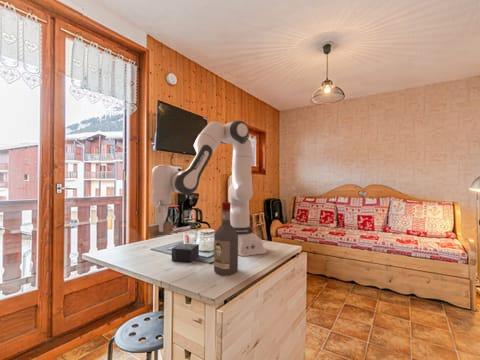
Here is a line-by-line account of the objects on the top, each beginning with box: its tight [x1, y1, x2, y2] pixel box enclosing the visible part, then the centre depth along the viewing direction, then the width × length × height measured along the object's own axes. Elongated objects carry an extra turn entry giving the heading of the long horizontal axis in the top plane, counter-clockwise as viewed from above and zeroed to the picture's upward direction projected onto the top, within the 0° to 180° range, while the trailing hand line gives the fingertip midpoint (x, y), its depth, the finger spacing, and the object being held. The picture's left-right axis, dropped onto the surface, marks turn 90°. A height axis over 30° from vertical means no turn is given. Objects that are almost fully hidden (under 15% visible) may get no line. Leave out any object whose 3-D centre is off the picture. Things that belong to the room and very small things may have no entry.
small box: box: [171, 243, 200, 263], centre depth 124 cm, size 11×6×10 cm
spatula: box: [147, 220, 192, 238], centre depth 113 cm, size 18×6×5 cm, turn 97°
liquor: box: [213, 201, 239, 277], centre depth 107 cm, size 9×9×30 cm
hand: (161, 230), depth 112 cm, fingers closed on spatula, 3 cm apart
